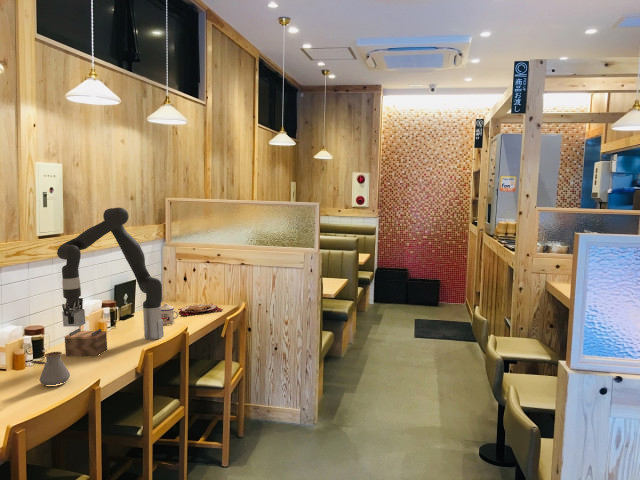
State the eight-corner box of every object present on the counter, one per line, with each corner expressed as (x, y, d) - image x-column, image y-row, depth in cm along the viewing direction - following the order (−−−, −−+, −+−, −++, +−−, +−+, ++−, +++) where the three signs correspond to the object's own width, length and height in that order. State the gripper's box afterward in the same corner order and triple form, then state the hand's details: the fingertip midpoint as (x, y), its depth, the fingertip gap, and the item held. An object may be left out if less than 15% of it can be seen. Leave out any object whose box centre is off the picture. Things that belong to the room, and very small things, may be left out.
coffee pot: (49, 378, 220) (47, 344, 219) (75, 378, 220) (73, 344, 218) (19, 398, 199) (16, 361, 197) (47, 399, 198) (45, 361, 197)
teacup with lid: (156, 324, 306) (155, 305, 305) (163, 320, 315) (162, 301, 314) (175, 324, 304) (174, 305, 303) (181, 320, 313) (180, 302, 312)
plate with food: (223, 312, 335) (223, 307, 335) (183, 317, 323) (183, 311, 322) (212, 305, 357) (212, 300, 357) (174, 309, 344) (174, 304, 344)
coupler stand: (107, 350, 258) (106, 328, 257) (97, 356, 248) (95, 334, 247) (77, 349, 259) (75, 328, 258) (65, 356, 249) (64, 333, 248)
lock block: (85, 323, 243) (84, 309, 242) (79, 326, 238) (78, 311, 237) (68, 323, 243) (67, 309, 242) (62, 326, 238) (61, 311, 237)
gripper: (70, 290, 231) (73, 326, 233) (87, 283, 245) (89, 318, 247) (54, 290, 231) (58, 326, 233) (72, 284, 246) (75, 318, 248)
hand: (74, 322), depth 240 cm, fingers closed on lock block, 5 cm apart
